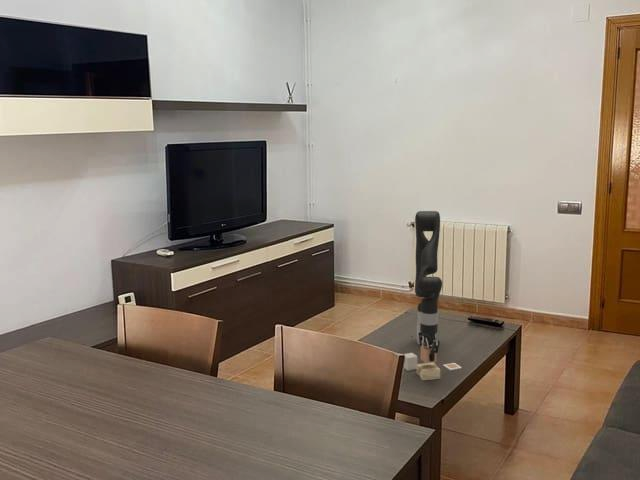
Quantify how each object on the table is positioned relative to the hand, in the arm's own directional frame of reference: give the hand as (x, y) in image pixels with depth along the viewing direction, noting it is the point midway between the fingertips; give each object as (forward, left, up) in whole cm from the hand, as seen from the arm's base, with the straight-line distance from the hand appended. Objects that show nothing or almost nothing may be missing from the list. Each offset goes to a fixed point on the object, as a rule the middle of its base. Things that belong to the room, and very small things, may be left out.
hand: (428, 358), depth 271 cm
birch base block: (0, 0, -8) cm, 8 cm away
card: (-4, +15, -8) cm, 17 cm away
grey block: (-11, -3, -8) cm, 14 cm away
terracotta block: (0, 0, -1) cm, 1 cm away
